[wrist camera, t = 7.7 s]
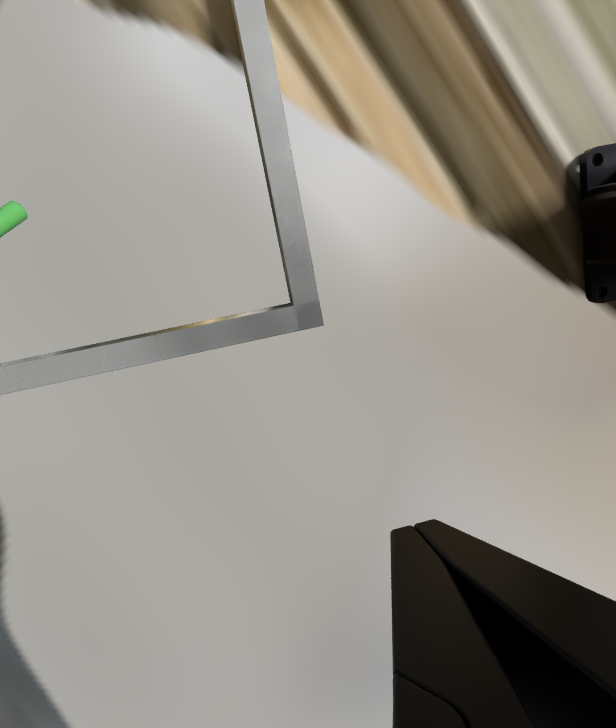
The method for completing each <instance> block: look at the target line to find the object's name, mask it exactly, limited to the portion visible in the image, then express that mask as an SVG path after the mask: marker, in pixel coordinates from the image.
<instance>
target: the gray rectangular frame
mask: <svg viewBox="0 0 616 728" xmlns="http://www.w3.org/2000/svg"><path fill="white" fill-rule="evenodd" d="M230 2H231V7H232V12H233V17H234V22H235V27H236V32H237V37H238V42H239V47H240V52H241V57H242V62H243V67H244V72H245V77H246V82H247V87H248V91H249V96H250V101H251V107H252V112H253V117H254V121H255V127H256V132H257V137H258V142H259V147H260V152H261V156H262V162H263V166H264V172H265V177H266V182H267V187H268V192H269V197H270V202H271V207H272V211H273V216H274V222H275V226H276V232H277V237H278V242H279V247H280V252H281V257H282V262H283V267H284V272H285V277H286V281H287V287H288V292H289V297H290V301H291V303H288V304H283V305H279V306H274V307H269V308H264V309H260V310H255V311H250V312H245V313H240V314H236V315H231V316H226V317H221V318H217V319H212V320H207V321H202V322H197V323H192V324H188V325H183V326H178V327H173V328H168V329H163V330H159V331H154V332H149V333H144V334H140V335H135V336H130V337H125V338H120V339H116V340H111V341H106V342H101V343H96V344H92V345H87V346H82V347H77V348H73V349H68V350H64V351H58V352H53V353H48V354H44V355H39V356H34V357H29V358H25V359H20V360H15V361H10V362H5V363H0V395H2V394H7V393H12V392H16V391H21V390H25V389H30V388H35V387H39V386H44V385H48V384H53V383H58V382H63V381H67V380H72V379H77V378H81V377H86V376H90V375H95V374H100V373H104V372H109V371H114V370H119V369H123V368H128V367H132V366H137V365H142V364H146V363H151V362H156V361H160V360H165V359H170V358H174V357H179V356H184V355H188V354H193V353H197V352H202V351H207V350H212V349H216V348H221V347H225V346H230V345H235V344H240V343H243V342H249V341H253V340H258V339H262V338H267V337H272V336H277V335H281V334H286V333H291V332H295V331H300V330H305V329H309V328H314V327H319V326H323V325H324V324H323V319H322V313H321V308H320V303H319V297H318V292H317V287H316V281H315V276H314V270H313V265H312V259H311V255H310V249H309V243H308V238H307V232H306V227H305V221H304V216H303V211H302V205H301V200H300V194H299V189H298V183H297V178H296V173H295V167H294V162H293V156H292V151H291V146H290V140H289V136H288V130H287V124H286V119H285V113H284V108H283V102H282V97H281V91H280V86H279V81H278V75H277V70H276V64H275V59H274V53H273V48H272V43H271V37H270V32H269V26H268V21H267V16H266V10H265V5H264V0H230Z"/></svg>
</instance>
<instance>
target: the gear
mask: <svg viewBox="0 0 616 728" xmlns="http://www.w3.org/2000/svg"><path fill="white" fill-rule="evenodd" d="M26 219H27V213H26V211H25V209H24V208H23V207H22V206H21V205H20V204H18V203H17V202H15V201H10V202H9V203H7V204H5V205H4V206H2V207H1V208H0V237H2V236H3V235H4V234H6V233H7V232H9V231H10V230H12V229H13V228H14V227H16V226H17V225H19V224H20V223H21V222H23V221H24V220H26Z"/></svg>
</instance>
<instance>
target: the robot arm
mask: <svg viewBox="0 0 616 728" xmlns="http://www.w3.org/2000/svg"><path fill="white" fill-rule="evenodd" d="M593 156H594V157H595V158H596V164H595V165H593V163H592V158H593ZM580 182H581V206H582V229H583V252H584V273H585V294H586V298H587V299H588V300H589V301H590V302H594V303H605V302H610V301H614V300H616V143H615V144H609V145H604V146H598V147H595V148H592V149H589V150H587V151H585V152H584V153H583V154H582V156H581V158H580ZM599 287H600V289H601V292H600V294H599V296H598V295H597V290H598V289H599ZM391 585H392V586H391V589H392V646H393V728H616V601H613V600H612V599H609V598H607V597H605V596H603V595H600V594H598V593H596V592H594V591H592V590H590V589H587V588H585V587H583V586H581V585H578V584H576V583H574V582H572V581H570V580H567V579H565V578H563V577H561V576H559V575H556V574H554V573H552V572H550V571H548V570H545V569H543V568H541V567H539V566H537V565H534V564H532V563H530V562H528V561H526V560H524V559H522V558H519V557H517V556H515V555H512V554H511V553H508V552H506V551H504V550H502V549H500V548H497V547H495V546H493V545H491V544H489V543H486V542H484V541H482V540H480V539H478V538H475V537H473V536H471V535H469V534H467V533H464V532H462V531H460V530H458V529H456V528H453V527H451V526H449V525H447V524H445V523H442V522H440V521H438V520H435V519H433V520H428V521H425V522H421V523H417V524H415V525H414V527H413V526H406V527H402V528H398V529H394V530H392V531H391Z"/></svg>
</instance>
